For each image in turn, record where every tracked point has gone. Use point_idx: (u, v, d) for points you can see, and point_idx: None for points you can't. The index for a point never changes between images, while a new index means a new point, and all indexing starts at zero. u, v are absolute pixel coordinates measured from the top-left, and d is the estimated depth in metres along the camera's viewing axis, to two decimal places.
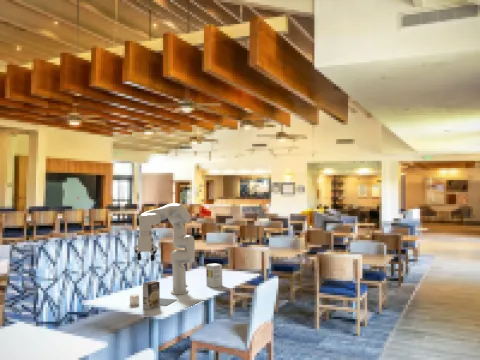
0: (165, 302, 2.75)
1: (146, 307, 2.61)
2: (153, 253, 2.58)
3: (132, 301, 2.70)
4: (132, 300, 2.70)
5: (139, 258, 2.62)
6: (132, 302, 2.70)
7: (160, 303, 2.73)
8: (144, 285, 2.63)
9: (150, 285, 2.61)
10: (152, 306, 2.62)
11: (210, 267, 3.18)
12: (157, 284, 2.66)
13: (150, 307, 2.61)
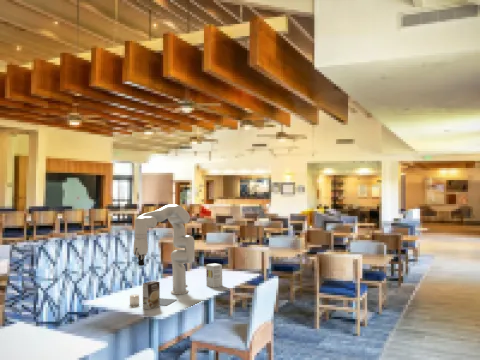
0: (165, 302, 2.75)
1: (146, 307, 2.61)
2: None
3: (132, 301, 2.70)
4: (132, 300, 2.70)
5: None
6: (132, 302, 2.70)
7: (160, 303, 2.73)
8: (144, 285, 2.63)
9: (150, 285, 2.61)
10: (152, 306, 2.62)
11: (210, 267, 3.18)
12: (157, 284, 2.66)
13: (150, 307, 2.61)
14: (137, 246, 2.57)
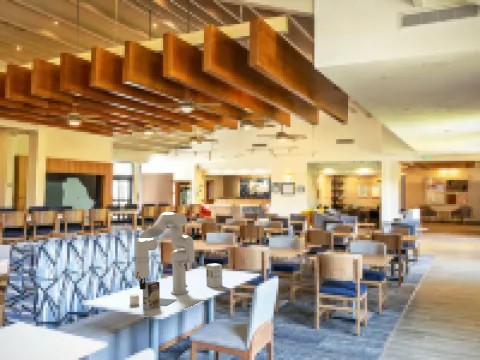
0: (165, 302, 2.75)
1: (146, 307, 2.61)
2: None
3: (132, 301, 2.70)
4: (132, 300, 2.70)
5: None
6: (132, 302, 2.70)
7: (160, 303, 2.73)
8: None
9: (150, 285, 2.61)
10: (152, 306, 2.62)
11: (210, 267, 3.18)
12: (157, 284, 2.66)
13: (150, 307, 2.61)
14: (138, 270, 2.52)
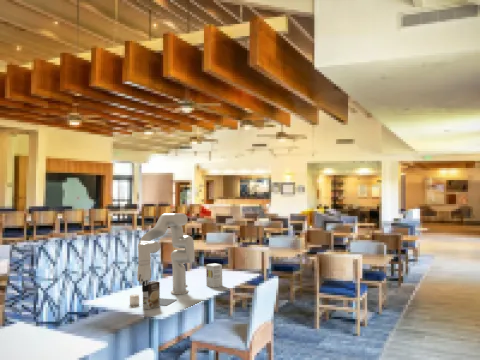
0: (165, 302, 2.75)
1: (146, 307, 2.61)
2: None
3: (132, 301, 2.70)
4: (132, 300, 2.70)
5: None
6: (132, 302, 2.70)
7: (160, 303, 2.73)
8: None
9: (150, 285, 2.62)
10: (152, 306, 2.62)
11: (210, 267, 3.18)
12: (157, 284, 2.66)
13: (150, 307, 2.61)
14: (141, 273, 2.54)
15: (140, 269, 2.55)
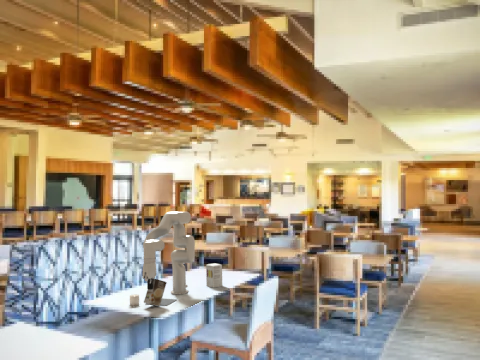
0: (165, 302, 2.75)
1: (147, 301, 2.62)
2: None
3: (132, 301, 2.70)
4: (132, 300, 2.70)
5: None
6: (132, 302, 2.70)
7: None
8: None
9: (158, 280, 2.67)
10: (153, 302, 2.63)
11: (210, 267, 3.18)
12: (164, 283, 2.70)
13: (151, 302, 2.62)
14: (146, 270, 2.60)
15: (145, 267, 2.60)
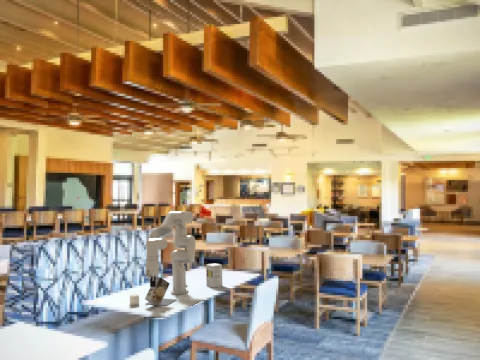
0: (165, 302, 2.75)
1: (148, 297, 2.64)
2: None
3: (132, 301, 2.70)
4: (132, 300, 2.70)
5: None
6: (132, 302, 2.70)
7: None
8: (156, 278, 2.72)
9: (162, 279, 2.71)
10: (154, 299, 2.64)
11: (210, 267, 3.18)
12: (167, 283, 2.73)
13: (152, 299, 2.63)
14: (149, 268, 2.63)
15: (148, 265, 2.64)
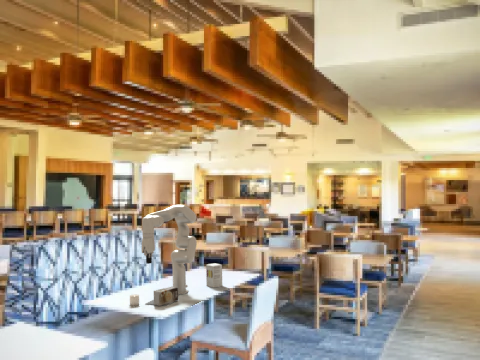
0: None
1: (158, 291, 2.69)
2: None
3: (132, 301, 2.70)
4: (132, 300, 2.70)
5: None
6: (132, 302, 2.70)
7: None
8: (172, 287, 2.81)
9: (177, 289, 2.78)
10: (161, 296, 2.68)
11: (210, 267, 3.18)
12: (176, 298, 2.78)
13: (160, 293, 2.68)
14: (145, 245, 2.66)
15: (144, 241, 2.67)
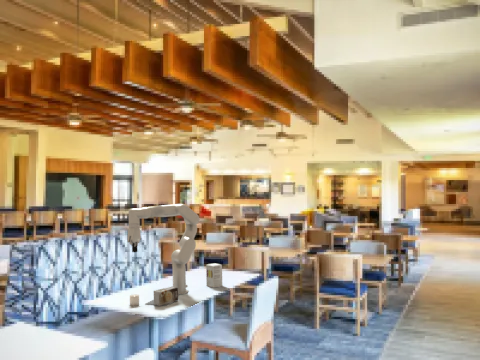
0: None
1: (158, 291, 2.69)
2: (136, 245, 2.89)
3: (132, 301, 2.70)
4: (132, 300, 2.70)
5: None
6: (132, 302, 2.70)
7: None
8: (172, 287, 2.81)
9: (177, 289, 2.78)
10: (161, 296, 2.68)
11: (210, 267, 3.18)
12: (176, 298, 2.78)
13: (160, 293, 2.68)
14: (131, 234, 2.83)
15: (130, 231, 2.84)
